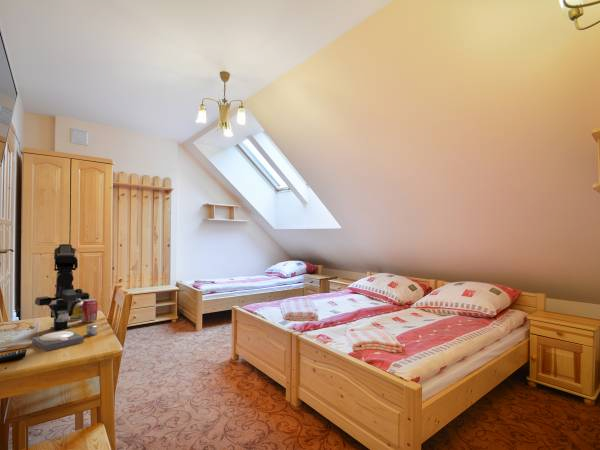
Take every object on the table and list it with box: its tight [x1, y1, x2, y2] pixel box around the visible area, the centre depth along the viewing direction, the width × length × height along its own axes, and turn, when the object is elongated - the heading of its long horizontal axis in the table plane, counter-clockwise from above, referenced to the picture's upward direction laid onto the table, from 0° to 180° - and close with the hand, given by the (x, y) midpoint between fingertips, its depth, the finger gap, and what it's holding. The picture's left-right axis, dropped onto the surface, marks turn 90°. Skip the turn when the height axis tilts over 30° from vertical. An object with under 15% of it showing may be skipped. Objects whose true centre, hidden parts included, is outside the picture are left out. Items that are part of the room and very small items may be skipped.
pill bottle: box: [69, 298, 84, 321], centre depth 175 cm, size 6×6×12 cm
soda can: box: [81, 298, 99, 324], centre depth 171 cm, size 7×7×12 cm
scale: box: [31, 330, 85, 352], centre depth 138 cm, size 15×14×3 cm
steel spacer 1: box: [56, 310, 70, 322], centre depth 138 cm, size 4×4×4 cm
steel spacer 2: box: [85, 324, 99, 337], centre depth 150 cm, size 4×4×4 cm
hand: (62, 317), depth 138 cm, fingers closed on steel spacer 1, 4 cm apart
